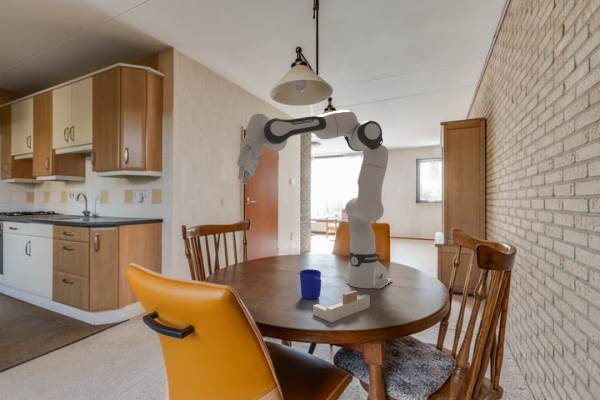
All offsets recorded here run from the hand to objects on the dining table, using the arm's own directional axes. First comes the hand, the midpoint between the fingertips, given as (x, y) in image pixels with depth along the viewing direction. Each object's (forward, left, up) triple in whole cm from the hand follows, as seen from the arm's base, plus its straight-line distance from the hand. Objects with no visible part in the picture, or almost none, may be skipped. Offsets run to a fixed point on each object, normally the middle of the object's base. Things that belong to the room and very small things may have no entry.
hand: (242, 181), depth 122 cm
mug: (-15, +27, -45) cm, 55 cm away
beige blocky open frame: (-15, +42, -45) cm, 64 cm away
